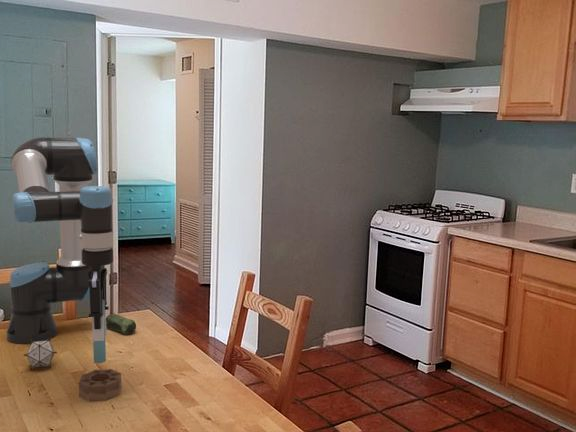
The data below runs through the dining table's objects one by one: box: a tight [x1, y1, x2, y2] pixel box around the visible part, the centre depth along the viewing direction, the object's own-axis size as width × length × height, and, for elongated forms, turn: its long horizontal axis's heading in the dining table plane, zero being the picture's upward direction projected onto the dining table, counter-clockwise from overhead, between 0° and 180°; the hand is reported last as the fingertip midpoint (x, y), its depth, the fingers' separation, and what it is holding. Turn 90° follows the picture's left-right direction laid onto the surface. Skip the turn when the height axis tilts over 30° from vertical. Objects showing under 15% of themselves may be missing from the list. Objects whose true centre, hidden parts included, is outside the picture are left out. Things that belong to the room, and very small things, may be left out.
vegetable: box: [106, 313, 137, 336], centre depth 193 cm, size 14×5×5 cm, turn 53°
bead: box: [78, 368, 122, 402], centre depth 148 cm, size 10×10×4 cm
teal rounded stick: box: [92, 300, 107, 364], centre depth 146 cm, size 3×3×16 cm
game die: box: [23, 338, 58, 371], centre depth 162 cm, size 9×8×10 cm
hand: (99, 337), depth 146 cm, fingers closed on teal rounded stick, 3 cm apart
